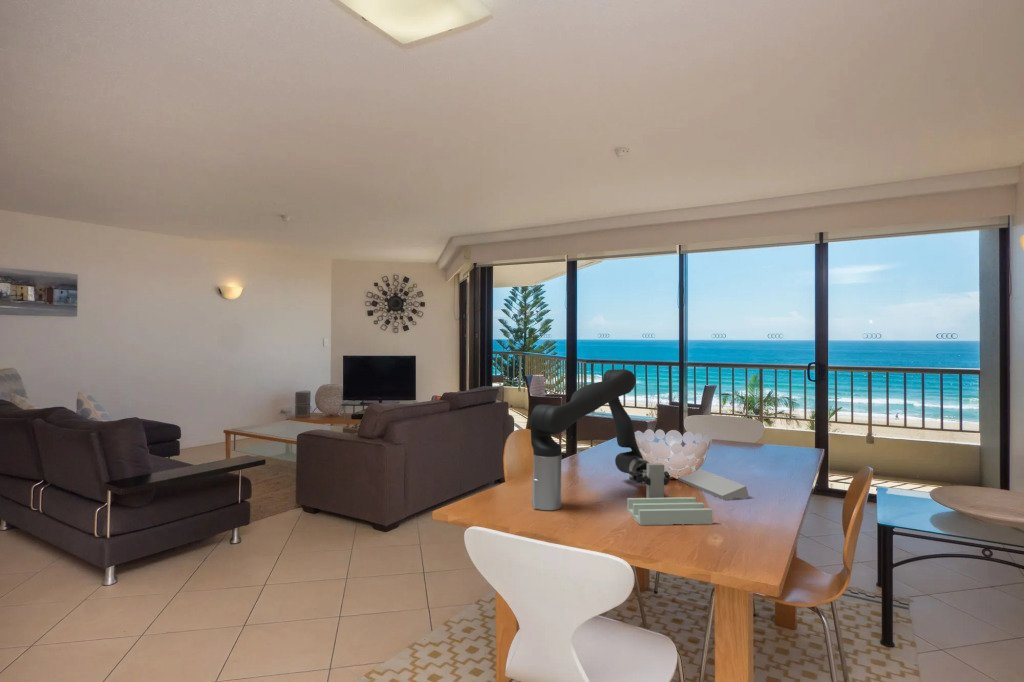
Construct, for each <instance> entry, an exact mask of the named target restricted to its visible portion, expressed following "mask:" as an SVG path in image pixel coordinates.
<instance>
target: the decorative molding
mask: <svg viewBox="0 0 1024 682" xmlns="http://www.w3.org/2000/svg"><path fill="white" fill-rule="evenodd" d="M678 480H679V481H678ZM678 480H677V481H678V482H680V481H681V482H680V483H682V482H683V484H685V483H686V484H685V485H687V484H688V486H689V485H690V487H692V488H694V487H695V488H694V489H696V488H697V490H699V489H700V490H699V491H701V490H702V492H703V491H704V493H706V494H708V493H709V494H708V495H710V494H711V495H710V496H713V497H715V496H716V498H717V497H718V498H717V499H720V500H722V499H723V500H722V501H724V500H725V501H733V500H732V499H734V500H737V499H741V500H744V499H743V498H749V497H750V496H749V492H748V489H747V486H746V485H744V484H741V483H739V482H736V481H733V480H731V479H728V478H725V477H723V476H720V475H718V474H714V473H712V472H710V471H706V470H704V469H701V468H699V469H698V470H697V471H695V472H693V473H691V474H689V475H686V476H683V477H678ZM749 499H750V498H749Z"/></svg>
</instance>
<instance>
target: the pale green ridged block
mask: <svg viewBox="0 0 1024 682" xmlns="http://www.w3.org/2000/svg"><path fill="white" fill-rule="evenodd" d="M626 500H627V503H626V504H627V505H626V506H627V507H626V512H627V511H628V512H629V513H630V514H631V515H632V516H633V517H634V518H633V517H632V516H631V515H630V514H629V513H628V512H627V513H628V514H629V515H630V516H631V517H632V518H633V519H634V520H635V521H636V523H637V522H638V523H639V524H640V525H639V524H638V523H637V524H638V525H639V526H674V525H673V524H682V526H684V524H693V525H713V509H712V508H710V507H709V508H706V507H705V504H704V503H703V502H697V498H696V497H695V496H694V497H693V496H690V497H689V496H687V497H684V496H681V497H676V496H675V497H664V498H646V497H627V499H626Z"/></svg>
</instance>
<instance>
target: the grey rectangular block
mask: <svg viewBox="0 0 1024 682" xmlns="http://www.w3.org/2000/svg"><path fill="white" fill-rule="evenodd" d="M664 472H665V464H663V463H662V462H649V463H647V473H646V476H647V477H648V478H650V479H651V485H647V484H645V488H646V489H645V494H646V495H645V498H665V485H664Z"/></svg>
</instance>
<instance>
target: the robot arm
mask: <svg viewBox="0 0 1024 682" xmlns="http://www.w3.org/2000/svg"><path fill="white" fill-rule="evenodd" d="M636 379H637V378H636V376H635V374H634V372H632V371H631V370H630V369H629V370H628V369H626V368H625V369H624V368H623V369H621V368H619V369H607V370H606V371H605V372H604V374H603V376H602V381H597V382H593V383H590V384H586V385H584V386H582V387H580V388H578V389H577V390H575V391H574V392H573V393H572V394H571V397H570V401H568V402H567V403H564V404H560V405H549V404H537V405H535V407H534V408H533V409H532V411H531V414H530V421H529V425H530V443H531V448H532V449H533V451H532V452H533V457H532V458H533V459H532V461H533V463H532V464H533V465H532V467H533V472H532V489H531V490H532V493H531V496H532V500H531V501H532V504H531V505H532V507H533V509H534V510H541V511H556V510H559V509H561V508H562V446H561V445H560V444H559V443H558V442H557V441H555V440H554V438H553V437H552V435H559V434H561V433H563V432H565V431H566V430H567V429H568V428H570V427H571V426H572V425H574V424H575V422H577V421H579V420H580V419H582V418H584V417H585V416H587V415H589V414H591V413H594V412H595V411H596V410H598V409H600V408H601V407H603V406H604V405H606V404H608V406H609V409H610V413H611V416H612V419H613V423H614V424H613V425H614V430H615V437H616V442H617V446H618V447H620V448H625V449H627V448H628V449H630V450H631V451H630V450H629V451H625V452H624V451H623V452H620V453H618V454H617V455H616V456H615V458H614V462H615V466H616V468H617V470H618V471H620V472H622V473H623V474H629V475H628V477H629V478H628V479H629V480H630V481H633V482H634V483H638V484H640V483H641V484H643V485H646V484H647V485H651V479H650V478H648V477H647V476H646V473H647V463H650V462H649V461H648V460H646V459H644V457H643V455H642V453H641V450H640V448H639V446H638V444H637V440H636V434H635V427H634V424H633V423H634V422H633V421H632V419H631V416H630V415H629V413H628V412H627V411H626V409H625V408H624V406H623V404H622V402H621V400H620V397H622V396H625V395H627V394H630V393H631V392H632V390H634V388H635V386H636V382H637V381H636ZM669 473H670V472H669V471H666V470H664V486H668V484H669V483H670V478H671V477H670V475H669Z"/></svg>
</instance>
